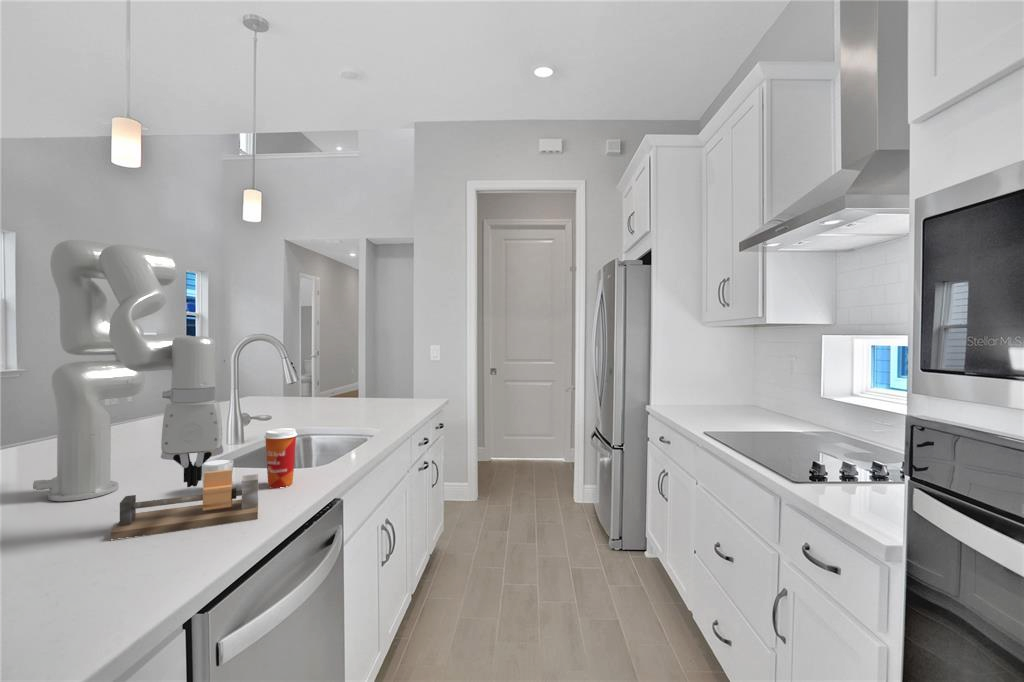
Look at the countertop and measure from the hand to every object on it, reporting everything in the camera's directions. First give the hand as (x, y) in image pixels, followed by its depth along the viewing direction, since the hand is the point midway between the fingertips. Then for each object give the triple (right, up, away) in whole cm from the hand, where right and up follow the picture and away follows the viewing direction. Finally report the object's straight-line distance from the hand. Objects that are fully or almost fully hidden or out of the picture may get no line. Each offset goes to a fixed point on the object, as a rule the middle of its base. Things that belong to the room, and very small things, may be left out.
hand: (192, 484), depth 98 cm
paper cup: (+7, -8, +24) cm, 26 cm away
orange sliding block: (+4, -5, +2) cm, 7 cm away
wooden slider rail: (0, -7, 0) cm, 7 cm away
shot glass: (-7, -7, +19) cm, 22 cm away
